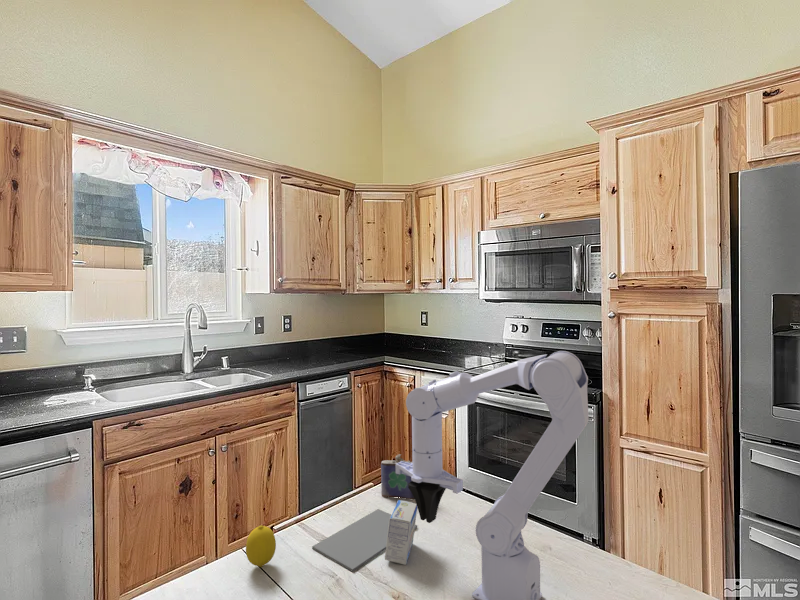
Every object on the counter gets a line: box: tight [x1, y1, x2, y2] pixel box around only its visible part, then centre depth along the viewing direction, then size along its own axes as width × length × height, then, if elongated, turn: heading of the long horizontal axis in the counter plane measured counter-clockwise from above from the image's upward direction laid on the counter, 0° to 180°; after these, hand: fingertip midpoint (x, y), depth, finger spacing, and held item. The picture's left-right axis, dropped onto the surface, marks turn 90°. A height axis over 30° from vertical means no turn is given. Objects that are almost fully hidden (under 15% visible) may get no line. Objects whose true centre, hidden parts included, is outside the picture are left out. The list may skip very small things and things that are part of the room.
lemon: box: [245, 524, 277, 568], centre depth 85 cm, size 6×6×8 cm
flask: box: [380, 453, 415, 500], centre depth 114 cm, size 9×3×11 cm, turn 76°
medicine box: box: [384, 499, 418, 566], centre depth 89 cm, size 8×4×9 cm, turn 168°
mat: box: [311, 508, 418, 573], centre depth 95 cm, size 12×20×1 cm, turn 140°
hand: (428, 519), depth 84 cm, fingers closed
